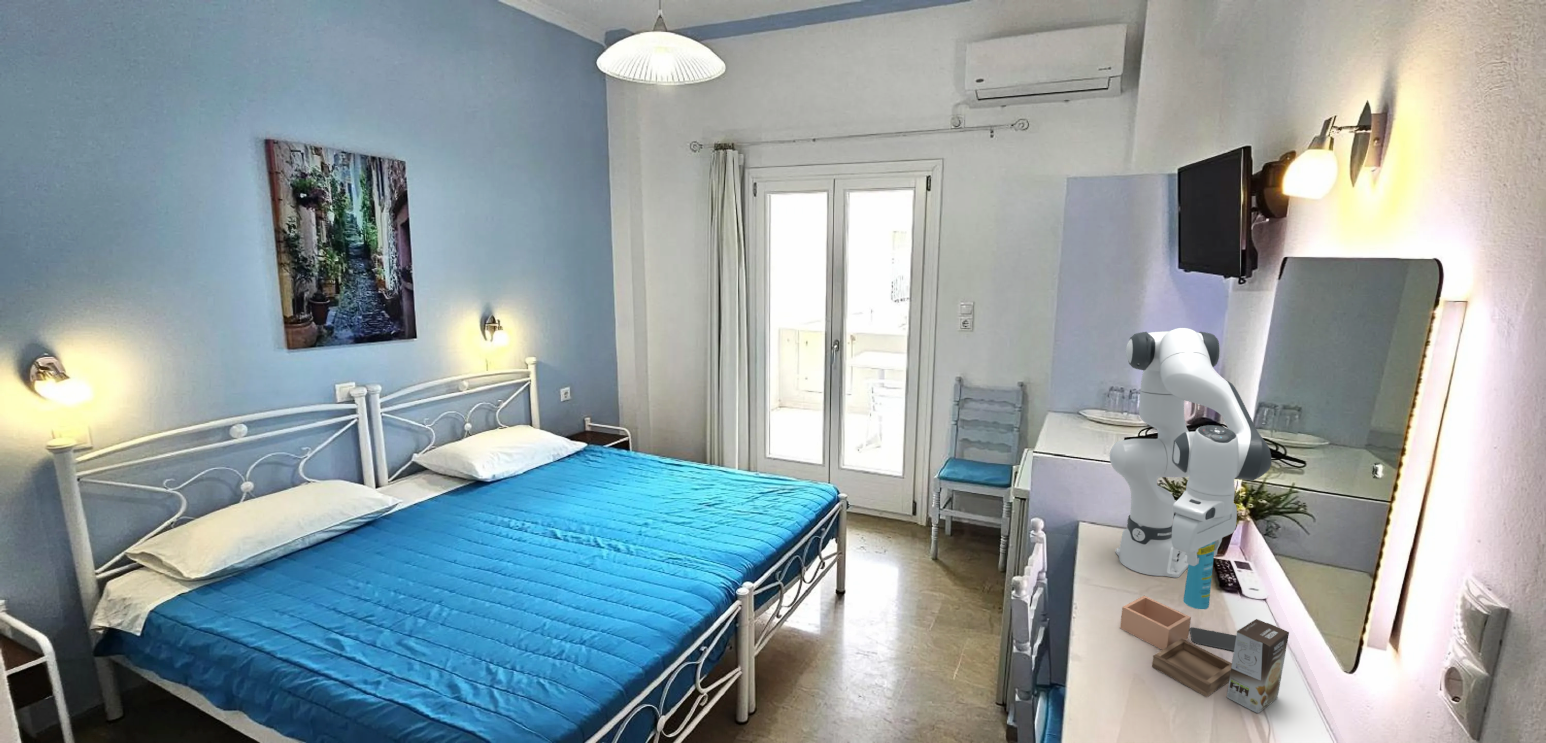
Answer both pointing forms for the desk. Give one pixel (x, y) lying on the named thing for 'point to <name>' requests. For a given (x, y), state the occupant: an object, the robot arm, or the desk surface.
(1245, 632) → the coffee box
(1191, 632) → the smartphone
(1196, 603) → the tube
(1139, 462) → the robot arm
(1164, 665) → the tray
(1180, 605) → the desk surface
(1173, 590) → the desk surface
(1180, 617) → the pink open box
